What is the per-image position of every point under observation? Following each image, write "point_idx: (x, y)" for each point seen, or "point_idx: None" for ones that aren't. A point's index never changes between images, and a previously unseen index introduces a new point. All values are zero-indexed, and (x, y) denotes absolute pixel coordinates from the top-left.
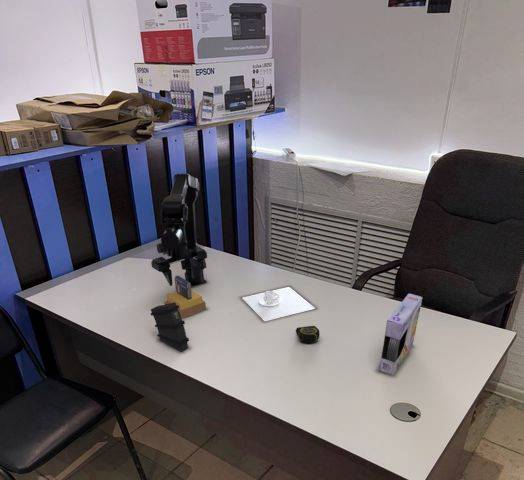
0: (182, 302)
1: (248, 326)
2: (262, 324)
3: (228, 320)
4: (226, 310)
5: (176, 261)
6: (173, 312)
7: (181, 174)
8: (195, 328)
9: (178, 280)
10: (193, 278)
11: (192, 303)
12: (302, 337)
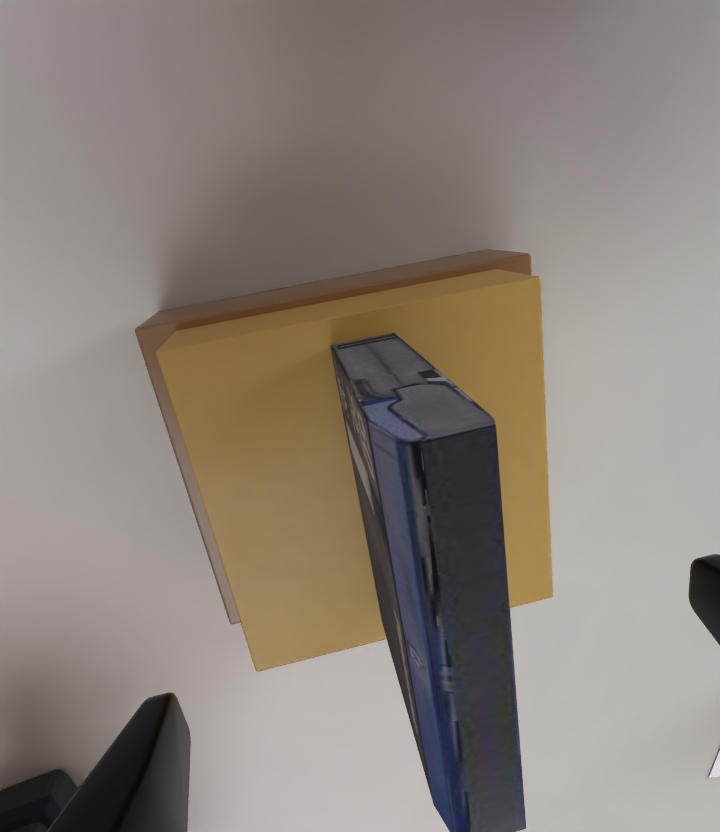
0: (297, 650)
1: (603, 795)
2: (675, 798)
3: (551, 705)
4: (624, 582)
5: None
6: None
7: None
8: (305, 726)
9: (402, 581)
10: (689, 591)
11: None
12: None
